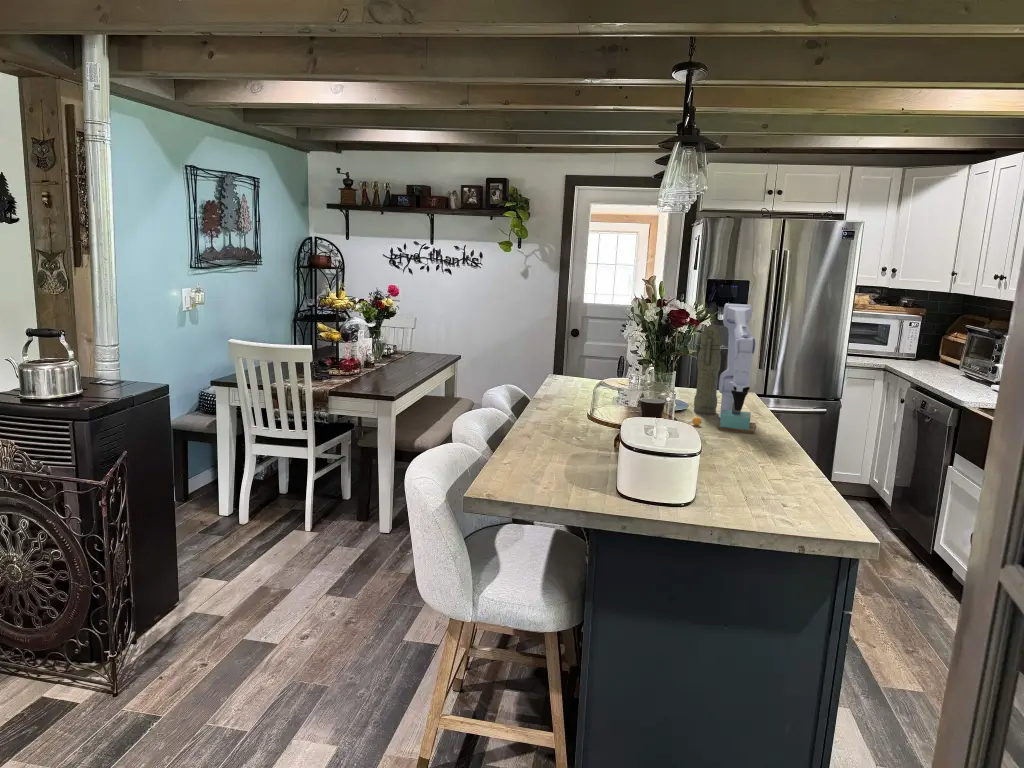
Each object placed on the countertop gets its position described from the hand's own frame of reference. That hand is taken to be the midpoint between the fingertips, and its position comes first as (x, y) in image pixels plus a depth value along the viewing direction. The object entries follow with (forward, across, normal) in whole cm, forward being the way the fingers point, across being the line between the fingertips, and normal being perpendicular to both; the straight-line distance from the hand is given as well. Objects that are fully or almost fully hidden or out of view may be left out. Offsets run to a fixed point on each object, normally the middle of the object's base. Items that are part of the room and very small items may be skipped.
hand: (738, 408), depth 247 cm
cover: (+6, 0, -1) cm, 7 cm away
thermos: (+8, -23, -14) cm, 28 cm away
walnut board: (+8, -1, 0) cm, 8 cm away
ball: (+8, +3, -14) cm, 16 cm away
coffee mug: (+8, +14, -28) cm, 32 cm away
